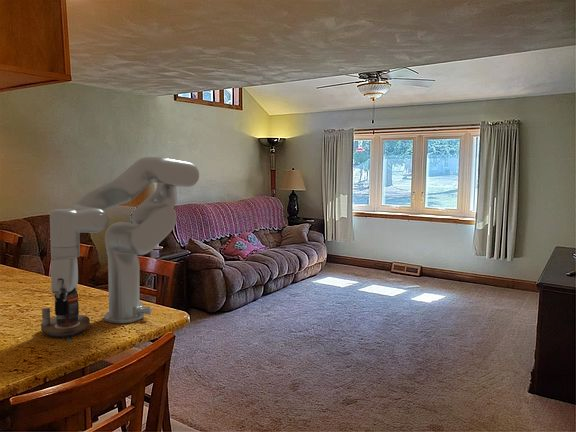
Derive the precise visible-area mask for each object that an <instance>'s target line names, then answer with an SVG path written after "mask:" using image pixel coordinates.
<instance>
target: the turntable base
mask: <svg viewBox="0 0 576 432" xmlns="http://www.w3.org/2000/svg"><path fill="white" fill-rule="evenodd" d="M84 331H85V329H83V330H81V331H78V332H74V333H68V334H47V333H46V334H47V336H48V337H51V338H57V339H58V338H66V339H67V342H69V343H70V342H73V337H74V336H77V335H80V334H81V333H83V332H84Z"/></svg>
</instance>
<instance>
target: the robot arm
mask: <svg viewBox="0 0 576 432" xmlns="http://www.w3.org/2000/svg"><path fill="white" fill-rule="evenodd" d="M199 179H200V171H199V169H198V167H197V166H196V164H194V163H192V162H188V161H183V160H178V159H173V158H168V157H161V156H144V157H141V158H139V159H138V160H136V161H135V162H134V163H132V164H131V165H130V166H129V167H128V168H126V169H125V170H124V171H123V172H121V173H120V174H119V175H118V176H117V177H116V178H114V179H113V180H111V181H110V182H108V183H105V184H103V185H102V186H99V187H98V188H95V189H94V190H92V191H90V192H88V193H87V194H85V195H83V196H82V197H80V198H79V200H77V201H76V202H75V203H74V204H73V205H71V207H70V208H57V209H53V210H51V211H50V213H49V229H50V234H49V235H50V238H49V239H50V259H52V263H51V274H50V275H51V276H50V279H51V280H50V285H51V286H50V292H51V293H52V294H54V295H53V296H54V315H55V316H56V315H67V314H68V301H66V299H67V294H68V293H69V292H70V291H72V290H73V289H75V290H74V291H75V292H76V293H77V294H78V285H79V267H78V264H79V263H78V258H80V257H81V245H80V243H81V242H80V237H81V235H80V234H81V233H84V234H85V233H90V234H95V233H100V232H103V231H104V230H105V229H106V228H107V230H106V231H105V234H104V244H105V249H106V254H107V264H108V265H107V266H108V267H107V269H108V275H107V276H108V278H107V279H108V312H105V313H104V314H103V320H104V322H108V323H110V324H129V323H134V322H137V321H140V320H142V319H143V318H144V317H145V315H151V314H152V308H151V306H144V305H143V301H140V260H139V256H144V255H146V254H149V253H150V252H151V251H153V250H154V249H155V248H156V247H157V246H159V244H160V243H161V242H162V241H163V240H165V238H166V237H167V236H168V235H169V234H170V233H171V232H172V231H173V229H174V228H175V226H176V223H177V219H178V217H177V213H176V210H175V209H174V207H175V206H176V204H177V200H178V195H177V194H178V193H177V187H183V188H189V187H193V186H195V185H196V184H197V183H198V181H199ZM153 183H156V188H155V191H153V193H151V195H149V197H147V198H146V199H145V200H143V202H142V203H140V204H139V205H138V206H137V207H136V208H135V209H134V210H133V211H132V213H131V215H130V216H131V217H130V219H131V222H127V221H126V222H124V221H119V222H114V223H112V224H111V225H109V224H110V217H109V214H108V213H107V212H106V211H105V210H107V209H109V208H112V207H116V206H121V205H124V204H127V203H129V202H132V201H134V200H135V199H136V197H138V196H139V195H140V194H141V193H142V192H143V191H144V190H145V189H147V188H148V187H149V186H150V185H152V184H153ZM63 294H64V297H63Z"/></svg>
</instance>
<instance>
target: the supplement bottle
mask: <svg viewBox="0 0 576 432" xmlns="http://www.w3.org/2000/svg"><path fill="white" fill-rule="evenodd" d="M74 290H75V289H73V290H72V291H70V292H69V293H68V294H67V299H66V301H68V314H67V315H55V317H56V320H57V325H58V326H62V327H66V326H72V325H75V324H77V323H78V322H79V315H80V312H79V311H80V310H79V309H80V307H79V305H80V304H79V293H78V292H77V293H76V292H75V291H74ZM63 297H64V294H63Z"/></svg>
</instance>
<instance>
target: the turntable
mask: <svg viewBox="0 0 576 432" xmlns="http://www.w3.org/2000/svg"><path fill="white" fill-rule="evenodd" d="M41 316H42V318H41V320H42V322H41V324H40V330H41V332H42V333H43V334H68V333H74V332H78V331H81V330H83V329H84V330H85V329H87V328H89V326H90V324H91V320H90V317H89V316H87V315H84V314H79V322H78V323H77V324H75V325H72V326H66V327H62V326H58V325H57V320H56V316H53V317H51V308H50V307H44V308H42V309H41Z"/></svg>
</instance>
